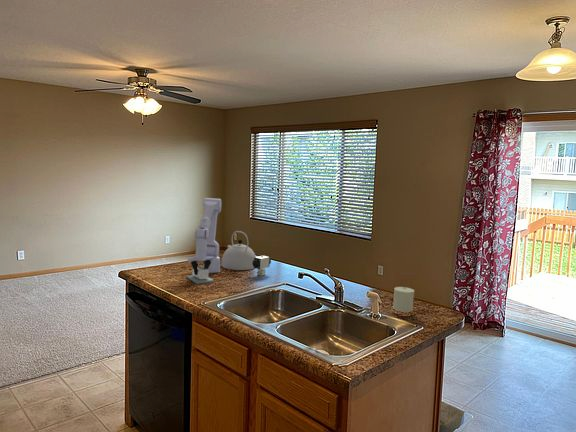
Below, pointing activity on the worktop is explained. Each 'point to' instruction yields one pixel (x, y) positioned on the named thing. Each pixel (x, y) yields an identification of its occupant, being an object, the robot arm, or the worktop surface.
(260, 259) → the pneumatic valve
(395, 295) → the can
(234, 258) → the kettle
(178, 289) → the worktop surface
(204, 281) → the board
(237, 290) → the worktop surface
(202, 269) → the block
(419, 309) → the worktop surface
